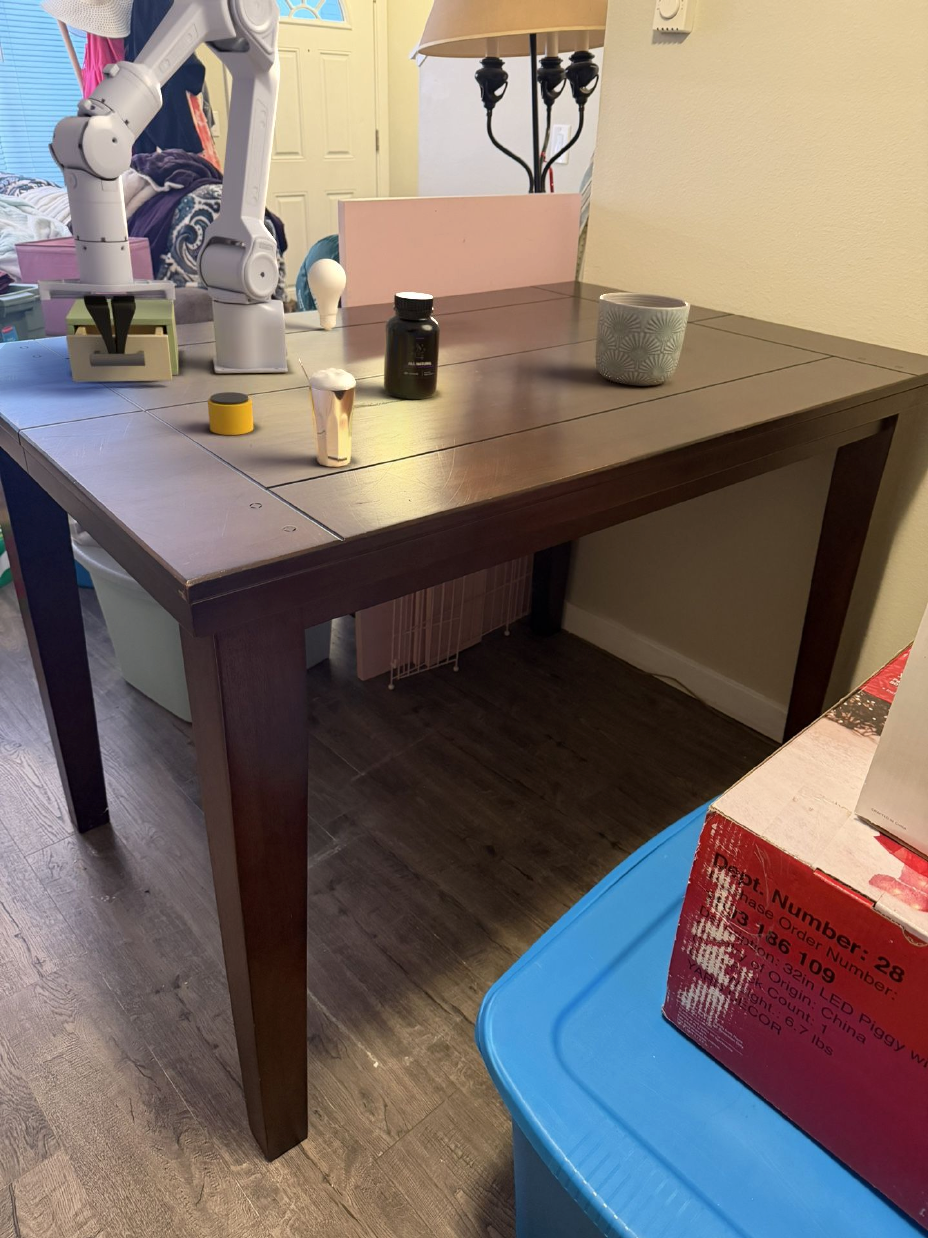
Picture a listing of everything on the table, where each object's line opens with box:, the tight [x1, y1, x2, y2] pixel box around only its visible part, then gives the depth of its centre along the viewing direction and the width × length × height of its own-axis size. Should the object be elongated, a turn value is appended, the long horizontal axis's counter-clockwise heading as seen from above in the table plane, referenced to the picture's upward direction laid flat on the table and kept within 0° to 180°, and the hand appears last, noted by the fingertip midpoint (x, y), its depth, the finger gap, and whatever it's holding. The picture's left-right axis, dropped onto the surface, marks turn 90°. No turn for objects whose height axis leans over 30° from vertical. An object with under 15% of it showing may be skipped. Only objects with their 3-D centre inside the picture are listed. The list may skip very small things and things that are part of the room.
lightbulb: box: [307, 258, 347, 331], centre depth 142 cm, size 6×6×11 cm
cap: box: [207, 391, 254, 436], centre depth 94 cm, size 5×5×4 cm
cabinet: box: [64, 299, 179, 376], centre depth 116 cm, size 14×13×7 cm
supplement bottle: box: [383, 292, 441, 400], centre depth 109 cm, size 7×7×12 cm
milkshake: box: [298, 359, 357, 468], centre depth 85 cm, size 4×5×10 cm
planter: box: [595, 292, 691, 387], centre depth 123 cm, size 12×12×11 cm
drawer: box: [65, 325, 173, 383], centre depth 109 cm, size 17×11×5 cm
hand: (117, 363), depth 104 cm, fingers closed, pressing on drawer
